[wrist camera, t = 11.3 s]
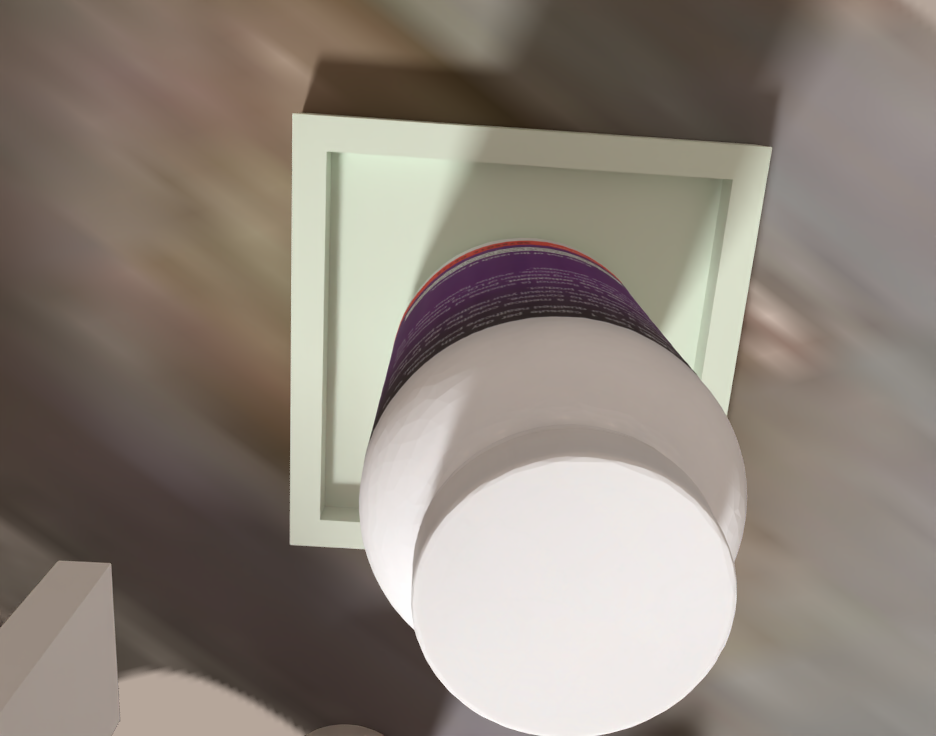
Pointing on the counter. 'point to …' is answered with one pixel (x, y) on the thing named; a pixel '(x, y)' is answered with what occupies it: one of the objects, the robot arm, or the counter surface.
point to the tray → (478, 222)
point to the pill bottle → (551, 494)
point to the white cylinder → (344, 731)
